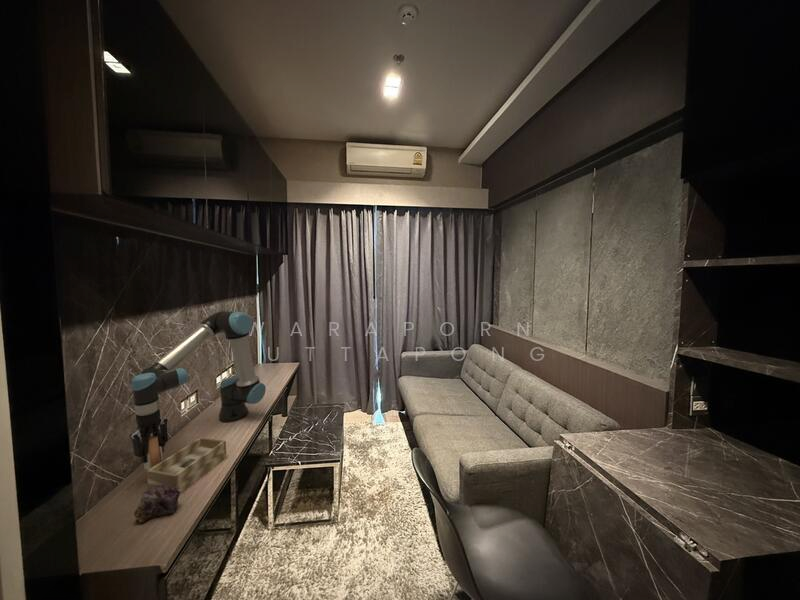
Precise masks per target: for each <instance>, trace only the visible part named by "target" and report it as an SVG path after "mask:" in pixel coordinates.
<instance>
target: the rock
mask: <svg viewBox="0 0 800 600" xmlns="http://www.w3.org/2000/svg"><path fill="white" fill-rule="evenodd" d="M180 494H181V493H180V492H179V491H178V490H177V489H175V487H174V486H171V485H169V484H167V485H157V486H153V487H152V488H150V489H147V490H145V491H143V493H142V496H141V498H140V500H139V503H138V505H137V508H136V509H135V511H134V512H133V516H134V517H135V519H137V520H138V522H139V523H146V522H147V521H149V520H150V519H152V518H154V517H160V516H163V515H168V514H173V513H174V512H175V511H176V510H177V507H178V502H179V496H180Z"/></svg>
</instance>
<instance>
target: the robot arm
mask: <svg viewBox="0 0 800 600" xmlns="http://www.w3.org/2000/svg"><path fill="white" fill-rule="evenodd" d="M252 327H253V320H252V318H251V316H250V315H249V314H248V313H246V312H243V311H228V310H227V311H226V310H221V311H217V312H214V313H213V314H211V315H209V316H208V317H206V318H205V319H204V320H202V321H201V322H199V323H198V324H197V328H196V329H194V330H193V331H192V332H191V333H189V334H188V335H187V336H186V337H185V338H183V339H182V340H181V341H179V342H178V343H177V344H176V345H174V347H172V348H171V349H170V350H169V351H167V352H166V353H165V354H164V355H162V356H161V357H160V358H159V359H158V360H156V361H155V362H154V363H153V364H151V365H150V366H147V367H146V368H145V367H143V368H144V370H143V371H141V374H140V375H137V376H136V375H135V376H134V377H132V379H131V391H132V396H133V404H134V405H133V406H134V412H135V420H136V424H137V425H136V426H137V428H136V431H135V432H134V433H131V434H130V435H129V438H130V439H131V440H132V441H131V442H132V448H133V453H134V457H138V458H140V460H141V463H142V464H143V467H144V470H148V469H151V468H152V467H151V459H150V454H149V453H148V445H149V438H150V436H153V435H154V436H158V444H159V453H160V461H161V462H162V461H164V452H165V448H164V447H165V446H166V443H167V442H168V440H169V434H168V422H169V420H168V418H161V410H160V399H159V394H162V393H165V392H167V391H169V390H172V389H175V388H177V387H180V386H182V385H184V384H186V383H187V382H188V381H189V375H188V372H187V370H186V369H184V368H182V367H180V368H176V367H178V366H179V365H180V364H181V363H182V362H184V360H186V359H187V358H188V357H189V356H190V355H191V354H192V353H194V352H195V351H196V350H198V348H200V346H201V345H203V343H205V342H206V341H207V340H208V339H210V338H214V337H215V336H217V335H218V334H221V333H224V335H225V339H226V340H227V341H229V343H230V347H231V351H232V357H233V361H234V365H235V371H236V376H231V377H227V378H225V379H223V380H222V381H221V382H220V383H219V389H220V390H219V392H220V393H219V394H220V402H221V403H220V404H221V406H220V410H219V414H218V421H220V422H222V423H232V422H236V421H240V420H242V419H243V418H245V417H247V416H248V414H249V410H248V407H247V405H246V404H249V405H252V404H253V405H255V404H258V403H259V402H261V401H262V400H263V398H264V396H265V394H266V385H265V384H264V383H263V382H261V381H260V377H259V376H258V375H257V374H256V371H255V367H254V364H253V358H252V353H251V347H250V344H249V339H248V337H249V335H250V332H251V331H252V329H253V328H252ZM151 434H152V435H151Z"/></svg>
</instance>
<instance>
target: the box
mask: <svg viewBox="0 0 800 600" xmlns="http://www.w3.org/2000/svg"><path fill="white" fill-rule="evenodd" d="M226 442H227V441H226V440H221V439H215V438H208V437H199V438H197V439H196V440H194V441H192V442H190V443H189V444H188V445H185V446H184V447H182V448H181V449H179V450H178V451H176V452H175V453H173V454H172V455H170V456H168V457H167V458H165V459H163V461H162V462H160V463H159V464H157V465H156V466H154V467H152V468H151V469H149V470H148V469H147V470H146V477H147V479H146V480H147V488H148V489H150V488H152V487H153V486H157V485H167V484H169V485H171V486H174V487H175V489H177V490H178V491H179V492H180V494H182V492H184V491H186V490H187V489H188V488H189V487H190V486H192V485H194V483H195V482H197V481H199V479H200V478H202V477H203V476H205V475H206V474H207V473H208V472H210V471H211V470H213V468H215V467H216V466H217V465H219V464H220V463H222V462H223V461H224V460H226V459H227V446H226V445H227V443H226ZM148 489H147V490H148Z"/></svg>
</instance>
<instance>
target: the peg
mask: <svg viewBox="0 0 800 600" xmlns="http://www.w3.org/2000/svg"><path fill="white" fill-rule="evenodd" d="M148 453H149V454H150V459H151V467H154V466H156V465H157V464H159V463H160V462H161V461H160V453H159V444H158V436H154V435H153V434H152V435H150V438H149V445H148ZM148 470H149V469H147V471H148Z"/></svg>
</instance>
